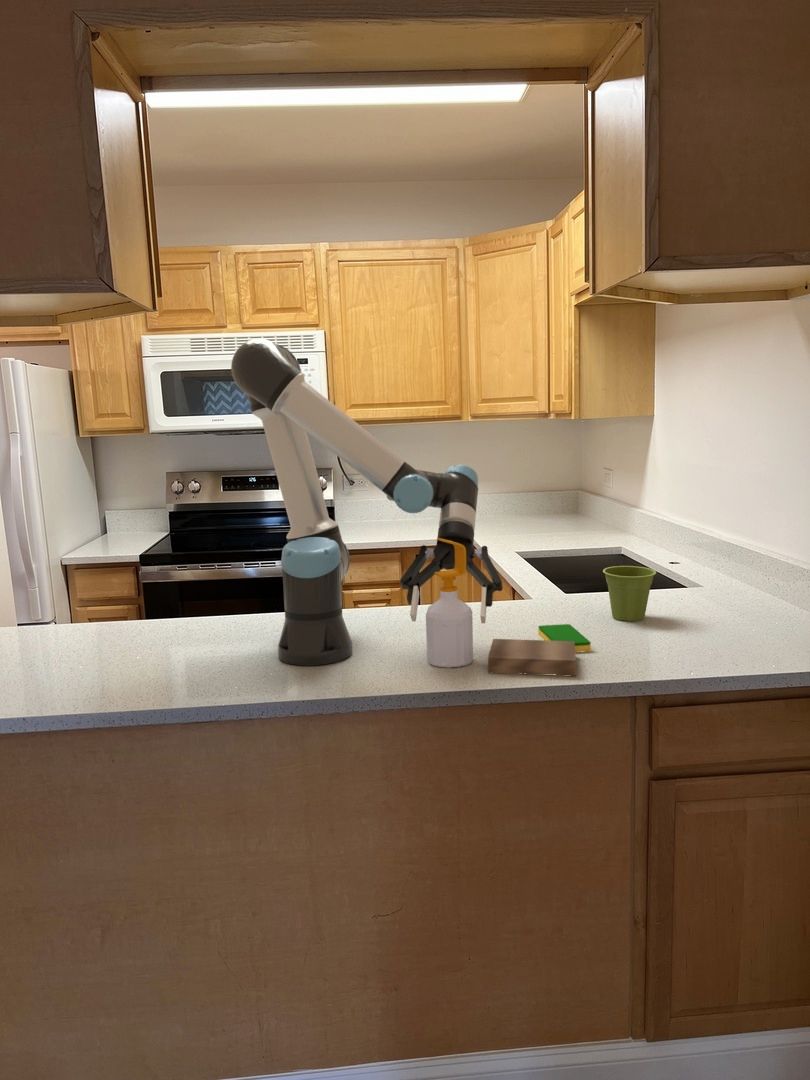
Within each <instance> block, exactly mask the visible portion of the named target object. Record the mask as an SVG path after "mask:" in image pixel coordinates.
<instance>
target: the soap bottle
mask: <svg viewBox="0 0 810 1080" xmlns="http://www.w3.org/2000/svg"><path fill="white" fill-rule="evenodd" d="M436 540H440V541H443V542H447V543H450V544H453V545H454V548H455V567H454V569H450V570H441V571H439V572H435V574H434V576H437V577H440V578H441V580H442V581H443V584H444V585H442V586H440V588H439V591H440V595H439V597H440V598H439V599H438V600H437V601H434V602H433V603H431V605H429V606H428V608H427V610H426V614H425V626H426V627H425V632H426V634H425V635H426V637H425V638H426V639H425V640H426V660H427V662H428V663H429V664H430V665H432V666H434V667H437V666H438V668H443V667H446V669H449V668H450V669H452V668H451V667H457V668H462V667H465V666H468V665H470V664H471V663H472V662H473V660H474V644H473V643H474V641H473V639H474V638H473V637H474V634H473V631H474V630H473V629H474V628H473V611H472V608H471V606H469V605H468V604H467V603H466V602H464V601H463V600H461V599H459V598H458V587H457V586H456V585H454V581H455V580H456V579H457V578H456V577H462V576H464V575H465V574H466V572H467V570H466V548H465V547H464V545H462V544H459V543H456V542H453V541H449V540H445V539H441V538H436ZM461 666H462V667H461Z"/></svg>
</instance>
